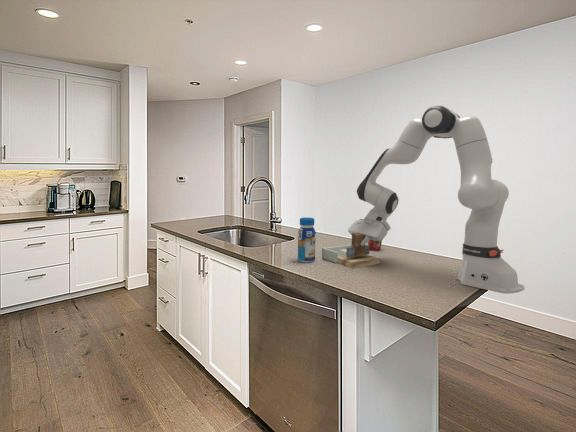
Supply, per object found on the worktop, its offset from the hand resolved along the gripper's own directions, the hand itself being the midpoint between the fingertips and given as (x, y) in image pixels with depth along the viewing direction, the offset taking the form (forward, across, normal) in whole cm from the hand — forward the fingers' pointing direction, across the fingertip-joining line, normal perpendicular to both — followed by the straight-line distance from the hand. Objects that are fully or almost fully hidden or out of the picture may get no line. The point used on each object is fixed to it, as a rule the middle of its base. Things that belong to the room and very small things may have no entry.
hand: (357, 243), depth 166 cm
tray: (+6, -10, +7) cm, 13 cm away
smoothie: (-14, -18, +27) cm, 35 cm away
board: (+6, +1, +7) cm, 9 cm away
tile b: (+6, -4, +3) cm, 8 cm away
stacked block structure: (+3, 0, +4) cm, 5 cm away
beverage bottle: (+19, -15, -6) cm, 25 cm away
